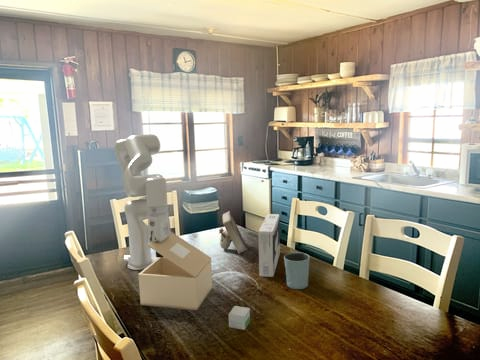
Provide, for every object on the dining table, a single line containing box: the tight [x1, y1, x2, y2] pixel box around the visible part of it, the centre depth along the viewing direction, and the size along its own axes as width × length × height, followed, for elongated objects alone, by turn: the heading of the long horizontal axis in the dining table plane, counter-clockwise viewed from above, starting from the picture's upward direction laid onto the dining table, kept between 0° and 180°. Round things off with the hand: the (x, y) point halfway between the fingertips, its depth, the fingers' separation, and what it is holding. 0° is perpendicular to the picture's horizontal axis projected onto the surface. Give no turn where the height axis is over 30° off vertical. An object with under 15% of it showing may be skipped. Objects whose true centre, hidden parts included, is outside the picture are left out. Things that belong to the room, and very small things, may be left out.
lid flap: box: [147, 231, 212, 277], centre depth 139 cm, size 21×18×1 cm
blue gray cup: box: [283, 251, 311, 290], centre depth 148 cm, size 10×10×12 cm
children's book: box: [218, 210, 248, 255], centre depth 192 cm, size 20×12×20 cm, turn 6°
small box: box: [228, 305, 251, 331], centre depth 121 cm, size 6×6×5 cm
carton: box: [137, 257, 213, 311], centre depth 141 cm, size 22×18×12 cm
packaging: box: [257, 213, 281, 278], centre depth 171 cm, size 30×6×20 cm, turn 168°
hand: (160, 256), depth 141 cm, fingers closed
